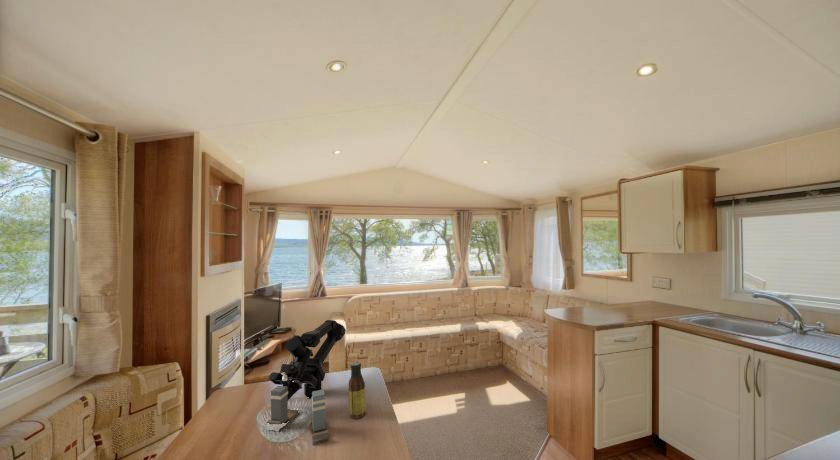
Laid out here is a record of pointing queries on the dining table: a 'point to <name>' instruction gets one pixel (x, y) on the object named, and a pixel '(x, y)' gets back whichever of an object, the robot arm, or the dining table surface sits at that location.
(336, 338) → the robot arm
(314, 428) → the two stripe post
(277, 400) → the one stripe post
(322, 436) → the rail
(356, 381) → the sauce bottle
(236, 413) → the dining table surface
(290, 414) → the rail
